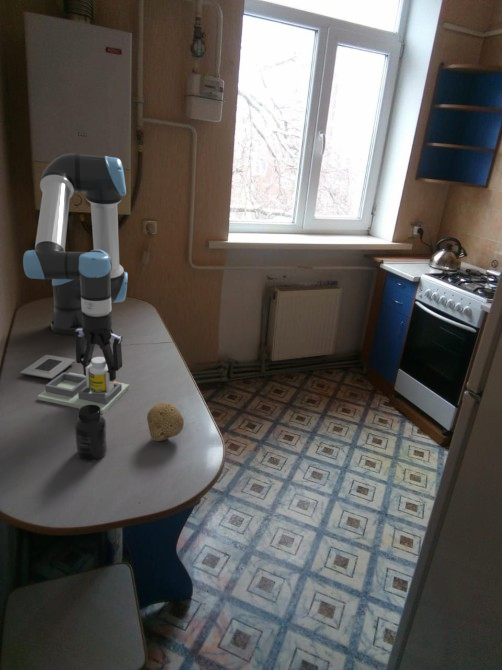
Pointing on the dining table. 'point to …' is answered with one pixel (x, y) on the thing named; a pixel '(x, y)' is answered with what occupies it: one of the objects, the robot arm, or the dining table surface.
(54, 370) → the electrical outlet
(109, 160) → the robot arm
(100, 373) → the supplement bottle
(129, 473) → the dining table surface
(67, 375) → the tag board
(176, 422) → the natural sponge
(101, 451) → the supplement bottle
